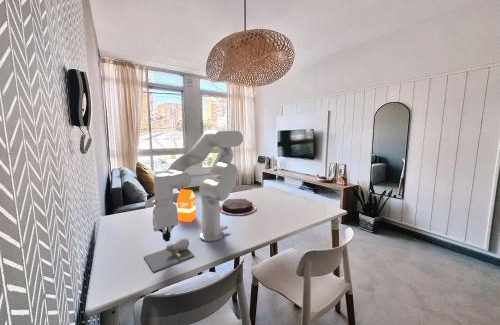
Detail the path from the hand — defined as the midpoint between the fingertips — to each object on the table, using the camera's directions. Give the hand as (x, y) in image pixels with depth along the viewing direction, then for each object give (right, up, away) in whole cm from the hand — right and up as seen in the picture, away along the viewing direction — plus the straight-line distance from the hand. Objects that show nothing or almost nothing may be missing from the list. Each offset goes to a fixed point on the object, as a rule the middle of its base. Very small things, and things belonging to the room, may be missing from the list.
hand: (166, 240), depth 98 cm
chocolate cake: (+29, 0, +63) cm, 69 cm away
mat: (+1, -8, 0) cm, 8 cm away
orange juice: (-3, -2, +44) cm, 44 cm away
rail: (+2, -8, +3) cm, 8 cm away
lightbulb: (0, -4, 0) cm, 4 cm away
